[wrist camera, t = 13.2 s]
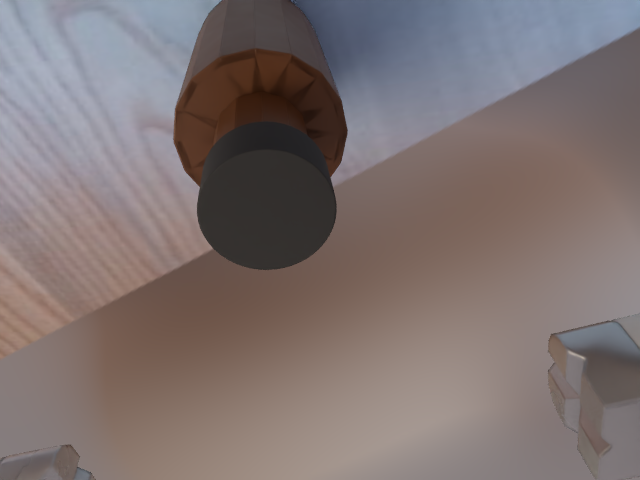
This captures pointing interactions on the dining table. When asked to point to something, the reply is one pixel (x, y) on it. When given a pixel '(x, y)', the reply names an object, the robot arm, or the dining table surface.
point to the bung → (266, 196)
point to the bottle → (257, 81)
